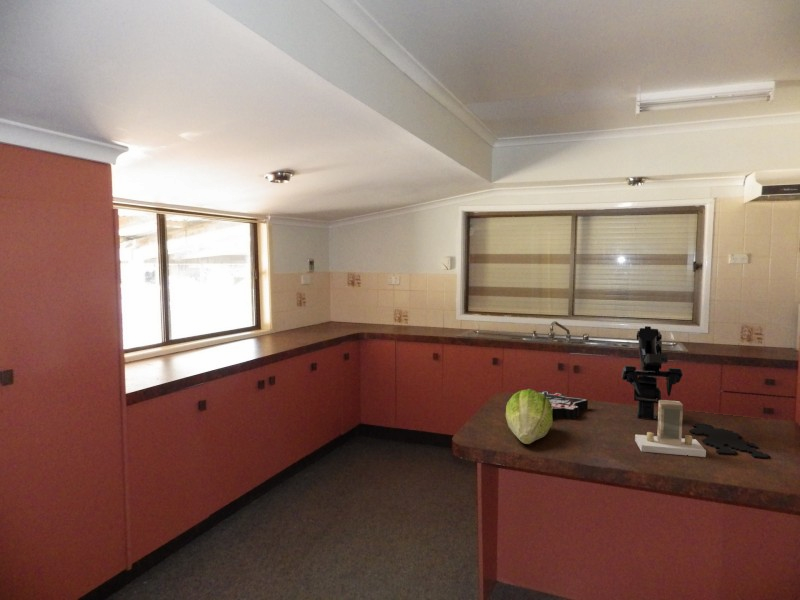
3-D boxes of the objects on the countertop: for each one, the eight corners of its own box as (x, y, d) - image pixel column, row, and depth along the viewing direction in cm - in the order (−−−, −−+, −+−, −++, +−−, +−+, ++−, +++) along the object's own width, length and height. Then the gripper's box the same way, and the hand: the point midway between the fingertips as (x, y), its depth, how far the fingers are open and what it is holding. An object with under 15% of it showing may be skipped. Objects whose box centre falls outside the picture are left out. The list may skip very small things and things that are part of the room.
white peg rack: (635, 440, 166) (635, 427, 165) (695, 445, 161) (696, 431, 160) (641, 451, 156) (641, 437, 156) (705, 457, 151) (706, 442, 151)
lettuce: (552, 463, 159) (503, 462, 165) (555, 416, 180) (512, 416, 186) (545, 426, 154) (495, 426, 160) (550, 381, 174) (505, 383, 180)
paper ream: (657, 439, 161) (658, 399, 160) (677, 440, 159) (679, 401, 158) (660, 443, 157) (661, 403, 156) (681, 445, 155) (683, 404, 154)
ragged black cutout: (771, 460, 149) (729, 427, 179) (771, 457, 149) (730, 425, 178) (712, 455, 153) (681, 424, 182) (712, 452, 153) (681, 422, 182)
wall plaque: (589, 396, 205) (579, 416, 179) (589, 406, 206) (578, 428, 179) (522, 388, 218) (502, 406, 192) (522, 397, 219) (502, 416, 192)
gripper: (624, 343, 177) (628, 380, 167) (682, 345, 172) (690, 384, 163) (619, 360, 185) (623, 397, 176) (675, 363, 181) (682, 401, 171)
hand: (654, 394), depth 171 cm, fingers open, 9 cm apart
